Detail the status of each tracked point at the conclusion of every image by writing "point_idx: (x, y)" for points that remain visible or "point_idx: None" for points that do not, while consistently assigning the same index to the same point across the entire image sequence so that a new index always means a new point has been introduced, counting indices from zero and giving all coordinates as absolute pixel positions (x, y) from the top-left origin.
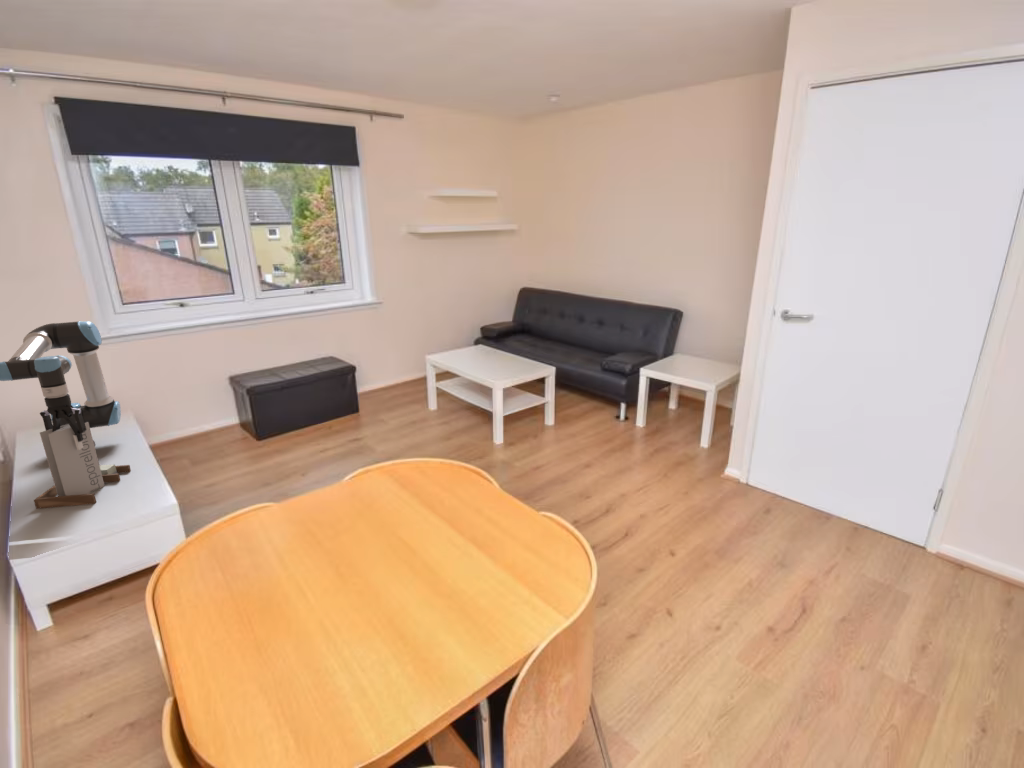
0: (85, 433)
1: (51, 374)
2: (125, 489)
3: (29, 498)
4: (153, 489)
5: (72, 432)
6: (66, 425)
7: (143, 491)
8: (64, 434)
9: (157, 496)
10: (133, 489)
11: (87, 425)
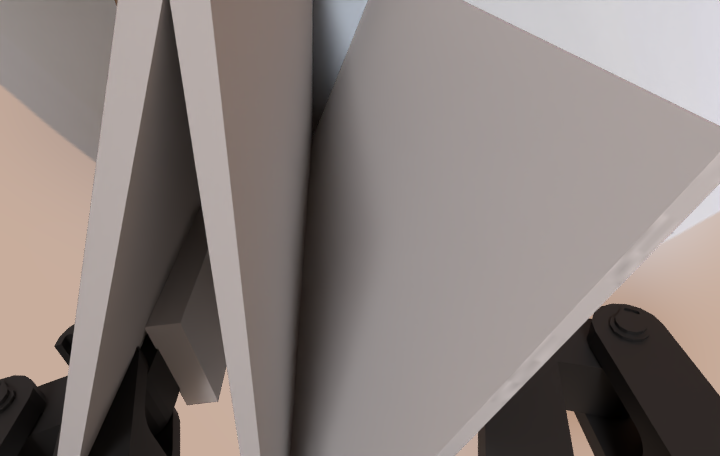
0: (492, 145)
1: None
2: (530, 14)
3: (46, 84)
4: (686, 30)
5: (407, 366)
6: (107, 335)
7: (637, 51)
8: (353, 448)
9: (715, 114)
10: (576, 19)
11: (633, 147)
